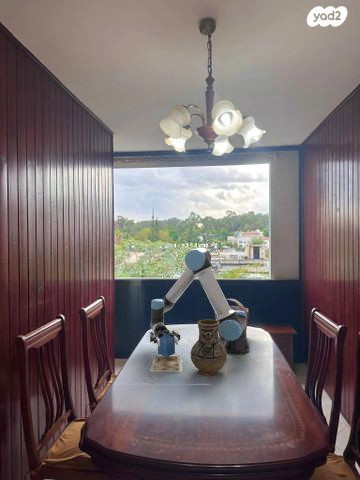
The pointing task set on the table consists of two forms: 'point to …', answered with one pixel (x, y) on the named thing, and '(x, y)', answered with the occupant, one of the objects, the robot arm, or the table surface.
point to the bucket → (240, 308)
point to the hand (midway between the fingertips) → (168, 342)
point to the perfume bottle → (166, 344)
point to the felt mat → (168, 370)
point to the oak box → (166, 362)
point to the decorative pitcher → (208, 348)
